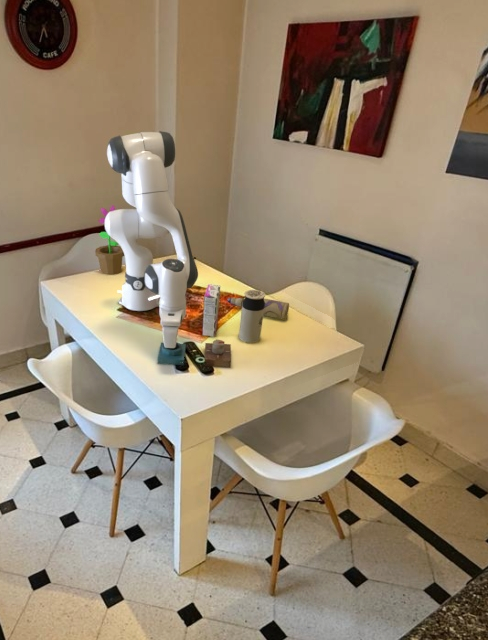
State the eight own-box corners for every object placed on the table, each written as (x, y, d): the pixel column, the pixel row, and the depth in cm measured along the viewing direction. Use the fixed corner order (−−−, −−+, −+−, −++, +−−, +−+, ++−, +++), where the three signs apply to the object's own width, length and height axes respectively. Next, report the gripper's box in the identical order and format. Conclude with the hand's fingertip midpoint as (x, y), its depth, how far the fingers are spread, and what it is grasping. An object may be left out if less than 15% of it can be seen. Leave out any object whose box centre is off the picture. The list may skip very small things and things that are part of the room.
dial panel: (204, 350, 167) (205, 342, 165) (229, 351, 166) (230, 343, 164) (204, 366, 158) (204, 358, 156) (230, 367, 157) (231, 360, 155)
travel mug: (234, 338, 174) (239, 293, 163) (246, 331, 178) (252, 287, 168) (251, 345, 169) (258, 300, 159) (263, 338, 174) (270, 293, 164)
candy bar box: (205, 322, 184) (207, 283, 174) (217, 323, 183) (221, 285, 173) (201, 336, 175) (203, 295, 165) (214, 337, 174) (217, 297, 164)
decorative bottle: (288, 315, 190) (291, 300, 186) (283, 322, 184) (286, 307, 180) (230, 302, 199) (231, 288, 195) (223, 309, 194) (225, 294, 190)
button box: (161, 347, 168) (161, 338, 165) (185, 349, 167) (186, 339, 165) (157, 363, 159) (157, 353, 156) (183, 365, 158) (184, 355, 156)
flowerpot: (129, 266, 232) (126, 204, 214) (120, 277, 221) (117, 212, 203) (102, 264, 235) (97, 202, 217) (92, 274, 223) (86, 210, 206)
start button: (167, 347, 163) (167, 342, 162) (178, 347, 163) (178, 343, 162) (166, 352, 160) (166, 348, 159) (177, 353, 160) (177, 349, 159)
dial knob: (212, 354, 159) (213, 344, 156) (212, 348, 162) (212, 338, 160) (224, 354, 158) (224, 344, 156) (223, 348, 162) (224, 339, 159)
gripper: (166, 296, 161) (165, 331, 169) (160, 323, 144) (160, 360, 152) (184, 297, 160) (183, 332, 168) (180, 324, 144) (179, 361, 152)
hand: (172, 346), depth 160 cm, fingers closed, pressing on start button
